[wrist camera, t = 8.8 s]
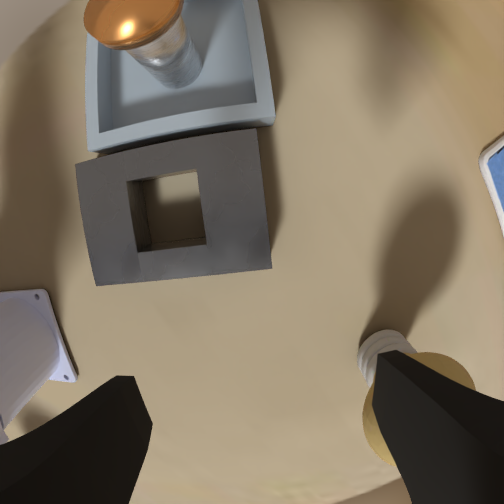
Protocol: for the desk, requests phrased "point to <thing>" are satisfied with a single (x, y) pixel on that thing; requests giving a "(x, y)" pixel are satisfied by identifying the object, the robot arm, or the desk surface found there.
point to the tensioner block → (212, 201)
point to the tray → (190, 97)
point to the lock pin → (148, 36)
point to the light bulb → (367, 366)
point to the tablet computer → (494, 176)
